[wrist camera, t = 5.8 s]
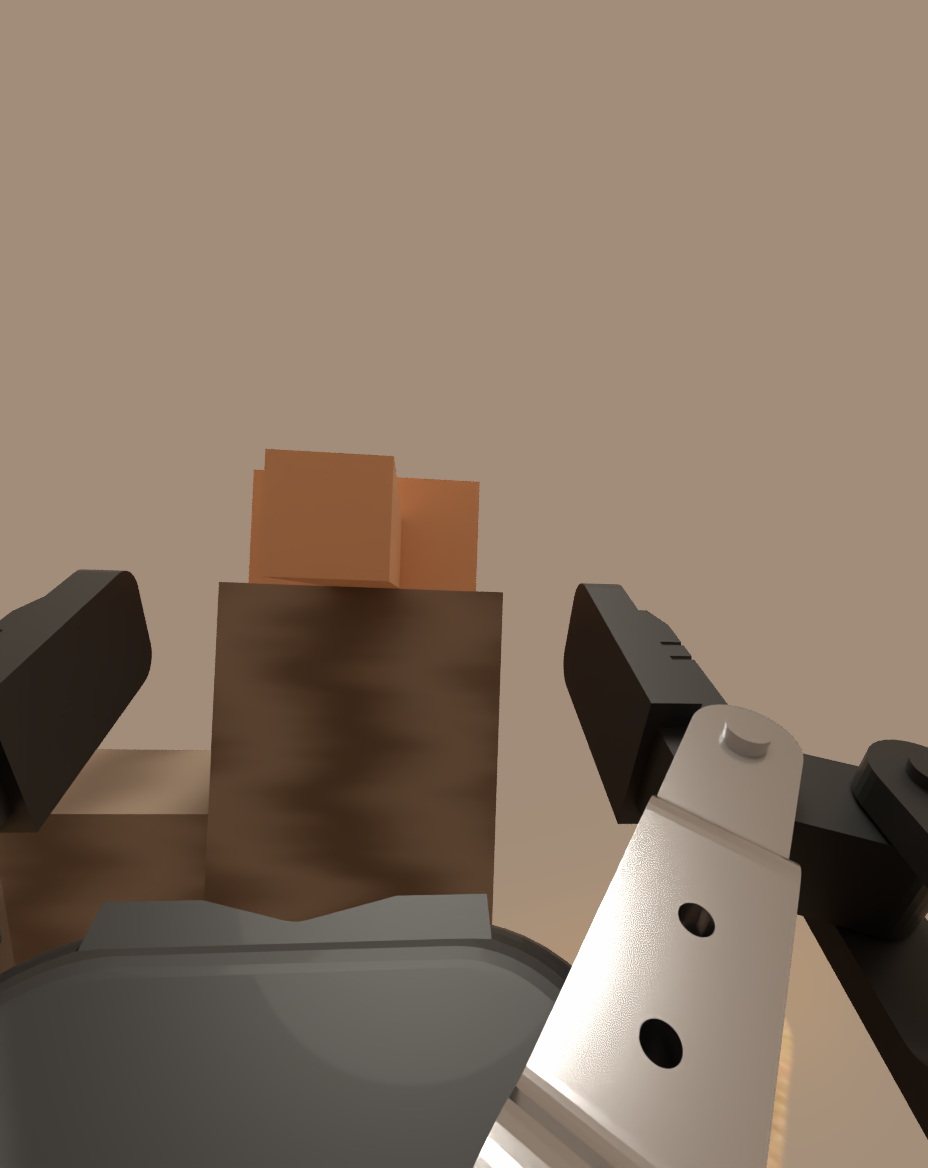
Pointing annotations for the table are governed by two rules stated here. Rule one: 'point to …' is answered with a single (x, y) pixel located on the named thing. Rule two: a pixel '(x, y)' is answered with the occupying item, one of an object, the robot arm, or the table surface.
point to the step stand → (291, 771)
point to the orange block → (360, 524)
